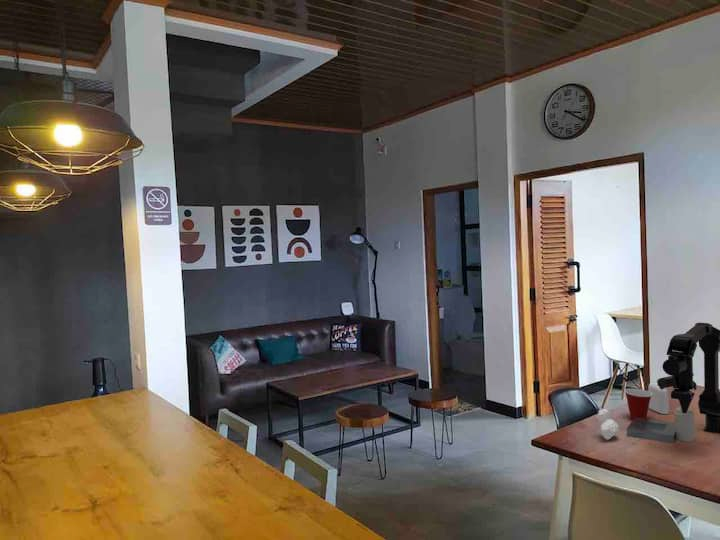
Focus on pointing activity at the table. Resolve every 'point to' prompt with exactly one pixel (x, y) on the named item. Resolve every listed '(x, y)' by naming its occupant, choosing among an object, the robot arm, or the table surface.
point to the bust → (607, 424)
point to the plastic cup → (638, 402)
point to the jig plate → (652, 430)
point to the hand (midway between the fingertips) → (684, 413)
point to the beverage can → (684, 425)
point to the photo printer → (659, 399)
